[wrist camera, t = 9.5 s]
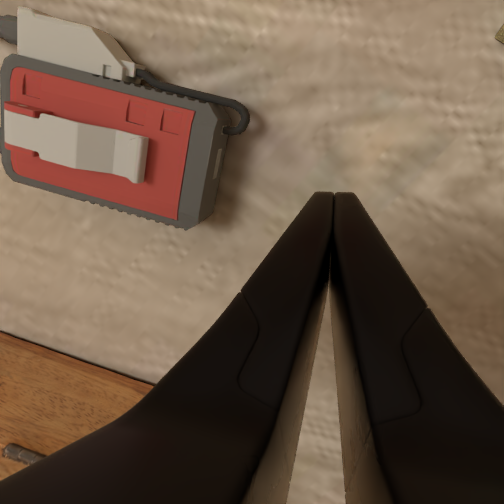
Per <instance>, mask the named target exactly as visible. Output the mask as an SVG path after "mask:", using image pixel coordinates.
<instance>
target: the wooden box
mask: <svg viewBox="0 0 504 504" xmlns="http://www.w3.org/2000/svg"><path fill="white" fill-rule="evenodd" d="M153 387H154V386H152V385H149V384H146V383H143V382H140V381H136V380H132V379H130V378H128V377H125V376H122V375H119V374H117V373H114V372H111V371H108V370H106V369H103V368H100V367H96V366H94V365H91V364H88V363H85V362H82V361H79V360H76V359H74V358H71V357H68V356H66V355H63V354H59V353H57V352H54V351H51V350H48V349H46V348H43V347H41V346H38V345H35V344H32V343H29V342H26V341H23V340H20V339H17V338H14V337H12V336H9V335H7V334H4V333H1V332H0V481H1V480H3V479H5V478H6V477H8V476H10V475H12V474H14V473H16V472H18V471H20V470H22V469H23V468H25V467H27V466H29V465H31V464H33V463H35V462H37V461H39V460H41V459H42V458H44V457H46V456H48V455H50V454H52V453H54V452H56V451H58V450H60V449H61V448H63V447H65V446H67V445H69V444H71V443H73V442H75V441H77V440H79V439H80V438H82V437H84V436H86V435H88V434H90V433H92V432H94V431H96V430H97V429H99V428H101V427H103V426H105V425H107V424H109V423H110V422H112V421H114V420H115V419H117V418H118V417H120V416H121V415H123V414H124V413H125V412H127V411H128V410H129V409H131V408H132V407H133V406H134V405H135V404H137V403H138V402H139V401H140V400H141V399H142V398H143V397H144V396H145V395H146V394H147V393H148V392H149V391H150V390H151V389H152V388H153Z"/></svg>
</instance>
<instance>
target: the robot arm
mask: <svg viewBox="0 0 504 504" xmlns="http://www.w3.org/2000/svg"><path fill="white" fill-rule="evenodd" d="M329 273H330V276H329ZM328 285H329V294H330V308H331V321H332V333H333V346H334V359H335V371H336V384H337V397H338V410H339V422H340V435H341V448H342V460H343V473H344V486H345V492H346V494H345V499H346V504H504V406H503V405H502V404H501V402H500V401H499V400H498V399H497V398H496V396H495V395H494V394H493V393H492V392H491V390H490V389H489V388H488V387H487V385H486V384H485V383H484V382H483V381H482V379H481V378H480V377H479V376H478V374H477V373H476V372H475V371H474V369H473V368H472V367H471V366H470V364H469V363H468V362H467V361H466V359H465V358H464V357H463V355H462V354H461V353H460V352H459V350H458V349H457V348H456V346H455V345H454V343H453V342H452V340H451V339H450V338H449V336H448V335H447V333H446V332H445V330H444V329H443V328H442V326H441V325H440V323H439V322H438V320H437V318H436V317H435V315H434V314H433V312H432V311H431V309H430V308H427V307H428V305H427V303H426V302H425V300H424V299H423V297H422V296H421V294H420V293H419V291H418V290H417V288H416V287H415V285H414V283H413V282H412V280H411V279H410V277H409V276H408V274H407V273H406V271H405V270H404V268H403V267H402V265H401V264H400V262H399V261H398V259H397V257H396V256H395V254H394V253H393V251H392V250H391V248H390V247H389V245H388V244H387V242H386V241H385V239H384V238H383V236H382V234H381V233H380V231H379V230H378V228H377V227H376V225H375V224H374V222H373V221H372V219H371V218H370V216H369V215H368V213H367V211H366V210H365V208H364V207H363V205H362V204H361V202H360V201H359V199H358V198H357V196H356V195H355V194H354V193H352V192H337V193H335V195H334V193H333V192H315V193H314V194H313V195H312V197H311V198H310V199H309V201H308V202H307V203H306V204H305V206H304V207H303V208H302V210H301V211H300V212H299V214H298V215H297V216H296V218H295V219H294V220H293V222H292V223H291V224H290V226H289V227H288V228H287V230H286V231H285V232H284V233H283V235H282V236H281V237H280V239H279V240H278V241H277V243H276V244H275V245H274V247H273V248H272V249H271V251H270V252H269V253H268V255H267V256H266V257H265V259H264V260H263V261H262V263H261V264H260V265H259V266H258V268H257V269H256V270H255V272H254V273H253V274H252V276H251V277H250V278H249V280H248V281H247V282H246V284H245V285H244V286H243V288H242V289H241V292H239V293H238V294H237V295H236V297H235V298H234V299H233V301H232V302H231V303H230V304H229V306H228V307H227V308H226V310H225V311H224V312H223V313H222V314H221V316H220V317H219V318H218V319H217V321H216V322H215V323H214V324H213V325H212V326H211V328H210V329H209V330H208V331H207V332H206V333H205V334H204V335H203V336H202V337H201V338H200V339H199V341H198V342H197V343H196V344H195V345H194V346H193V347H192V348H191V349H190V350H189V351H188V352H187V353H186V354H185V355H184V356H183V357H182V358H181V359H180V360H179V361H178V362H177V363H176V364H175V366H174V367H173V368H172V369H171V370H170V371H169V372H168V373H167V374H166V375H165V376H164V377H163V378H162V379H161V380H160V381H159V382H158V383H157V384H156V385H155V386H154V387H153V388H152V389H151V390H150V391H149V392H148V393H147V394H146V395H145V396H144V397H143V398H142V399H141V400H140V401H139V402H138V403H137V404H135V405H134V406H133V407H132V408H131V409H129V410H128V411H127V412H125V413H124V414H123V415H121V416H120V417H118V418H117V419H115V420H114V421H112V422H110V423H109V424H107V425H105V426H103V427H101V428H99V429H97V430H96V431H94V432H92V433H90V434H88V435H86V436H84V437H82V438H80V439H79V440H77V441H75V442H73V443H71V444H69V445H67V446H65V447H63V448H61V449H60V450H58V451H56V452H54V453H52V454H50V455H48V456H46V457H44V458H42V459H41V460H39V461H37V462H35V463H33V464H31V465H29V466H27V467H25V468H23V469H22V470H20V471H18V472H16V473H14V474H12V475H10V476H8V477H6V478H5V479H3V480H1V481H0V504H286V502H287V497H288V491H289V486H290V483H289V482H290V481H291V476H292V471H293V466H294V461H295V456H296V451H297V445H298V440H299V435H300V430H301V425H302V420H303V415H304V410H305V405H306V400H307V395H308V389H309V384H310V379H311V374H312V369H313V364H314V359H315V354H316V349H317V344H318V339H319V333H320V328H321V323H322V318H323V313H324V308H325V303H326V298H327V292H328Z"/></svg>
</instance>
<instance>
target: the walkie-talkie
mask: <svg viewBox="0 0 504 504" xmlns="http://www.w3.org/2000/svg"><path fill="white" fill-rule="evenodd" d="M0 38H3V39H5V40H6V41H7V42H8V43H12V44H16V45H17V54H18V55H16V54H11V55H9V56H8V57H6V58H5V59H4V62H3V65H2V68H1V71H0V99H1V127H0V153H1V154H2V164H3V166H4V169H5V171H6V174H7V175H8V176H9V177H10V178H11V179H12V180H13V181H15V182H18V183H22V184H25V185H29V186H32V187H36V188H39V189H43V190H46V191H50V192H53V193H57V194H60V195H64V196H67V197H70V198H74V199H77V200H81V201H89V202H90V203H91V204H95V203H96V204H99V205H100V206H102V207H103V206H107V207H109V209H117V210H118V211H119V212H122V211H124V212H127V214H130V215H131V214H135V215H136V216H137V217H141V216H142V217H145V218H146V219H147V220H150V219H152V220H155V221H156V222H157V223H159V222H162V223H165V225H173V226H175V228H179V227H180V228H183V229H184V230H185V231H186V230H188V229H190V228H192V227H194V226H195V225H197V224H199V223H200V222H202V221H203V220H204V219H205V218H207V217H208V216H209V215H211V214H212V213H213V209H214V204H215V199H216V194H217V189H218V184H219V179H220V174H221V169H222V164H223V159H224V154H225V149H226V143H227V138H228V135H237V134H241V133H242V132H244V131H245V130H246V128H247V126H248V124H249V122H250V114H249V112H248V109H247V108H246V107H245V106H244V105H243V104H241V103H239V102H238V101H236V100H233V99H228V98H224V97H220V96H216V95H212V94H208V93H204V92H200V91H196V90H192V89H188V88H184V87H179V86H176V85H172V84H169V83H165V82H162V81H160V80H158V79H156V78H155V77H154V76H153V75H152V74H151V73H150V72H148V71H146V70H145V66H142V65H139V64H136V63H133V61H132V60H131V59H130V58H129V56H128V55H127V54H126V53H125V51H124V50H123V49H122V48H121V46H120V45H119V44H118V43H117V41H116V40H115V39H114V38H113V37H112V36H111V35H110V34H108V33H105V32H103V31H101V30H98V29H96V28H94V27H91V26H87V25H83V24H79V23H75V22H70V21H66V20H62V19H58V18H55V17H52V16H50V15H47V14H45V13H42V12H39V11H37V10H34V9H31V8H26V7H21V6H19V7H18V8H17V17H16V16H11V15H6V16H4V17H3V16H0ZM141 79H143V80H145V81H147V82H148V83H149V84H150V85H151V86H153V87H155V88H158V89H155V88H151V87H147V86H143V85H139V84H140V83H141ZM159 89H160V90H159ZM166 91H167V92H166ZM194 98H195V99H194ZM214 103H215V104H214ZM222 105H223V106H227V107H230V108H233V109H235V110H236V111H237V112H239V114H240V115H241V120H240V122H239V124H238V125H237V126H236V127H230V123H231V119H230V118H229V116H228V115H227V113H226V111H225V110H224V108H223V107H222Z"/></svg>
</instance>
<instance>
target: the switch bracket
mask: <svg viewBox="0 0 504 504" xmlns="http://www.w3.org/2000/svg"><path fill="white" fill-rule="evenodd" d="M495 38H496V39H497V40H499V41H501V42H502V43H504V25H503V26H502V28H501V29H500V30H499V32H498V33H497V34H496V36H495Z"/></svg>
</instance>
